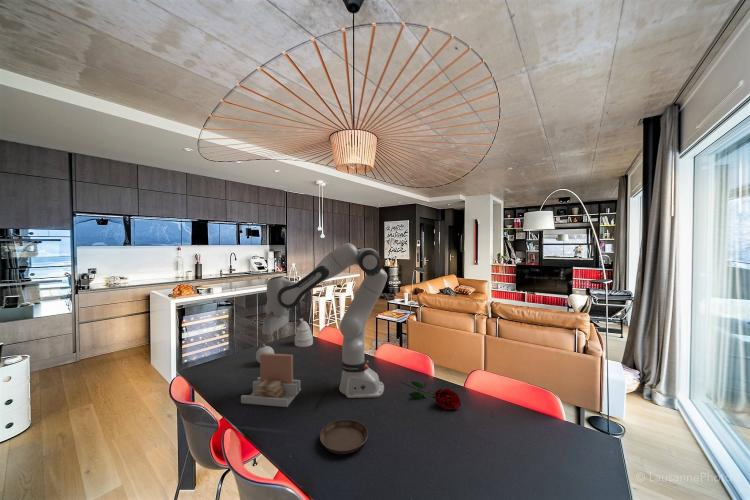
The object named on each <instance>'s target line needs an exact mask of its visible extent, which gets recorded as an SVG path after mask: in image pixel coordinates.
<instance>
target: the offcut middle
mask: <svg viewBox="0 0 750 500" xmlns="http://www.w3.org/2000/svg"><path fill="white" fill-rule="evenodd" d="M282 391H283V386H280V387H279V388H278V389H277V390H276V391H275V392H264V391H258V390H257V391H256V396H262V397H274V398H277V397H278V396H279V395H280V394H281V393H282Z"/></svg>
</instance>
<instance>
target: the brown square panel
mask: <svg viewBox="0 0 750 500" xmlns="http://www.w3.org/2000/svg"><path fill="white" fill-rule="evenodd" d="M259 364H260V365H259V374H260V375H259V377H260V381H262V382H263V381H264V380H277V381H281V383H290V384H293V380H294V354H290V353H288V354H286V353H274V354H271V353H262V354H260V363H259Z"/></svg>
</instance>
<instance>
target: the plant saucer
mask: <svg viewBox="0 0 750 500" xmlns="http://www.w3.org/2000/svg"><path fill="white" fill-rule="evenodd" d="M368 437H369V431H368V429H367V427H366V426H365V425H364V424H363V423H362V422H360V421H357V420H354V419H338V420H335V421H332V422H330V423H328V424H326V426H324V427H323V428H322V429H321V431H320V433H319V439H320V440H319V441H320V442H321V444H322V445H323V447H324V448H325V449H327V451H328V452H330V453H333V454H336V455H349V454H352V453H355V452H356V451H358V450H359V449H360V448H362V446H363V445H364V444H365V443H366V442H367V439H368Z"/></svg>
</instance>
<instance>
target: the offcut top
mask: <svg viewBox="0 0 750 500" xmlns="http://www.w3.org/2000/svg"><path fill="white" fill-rule="evenodd" d="M280 386H281V381H277V380H264V381H263V382H262V383H261V384H260V385H258V391H264V392H275V391H276V390H277V389H278V388H279V387H280Z"/></svg>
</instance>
